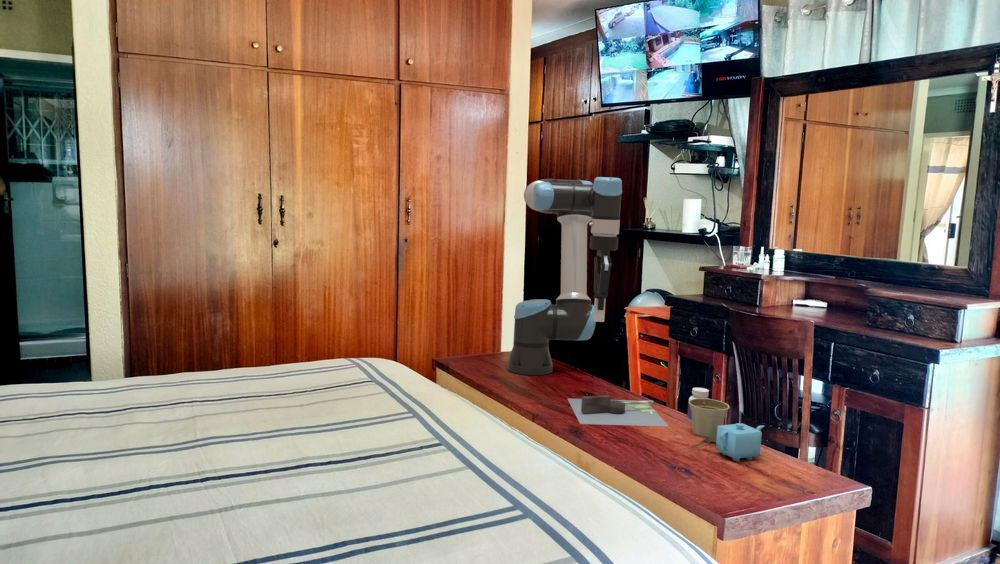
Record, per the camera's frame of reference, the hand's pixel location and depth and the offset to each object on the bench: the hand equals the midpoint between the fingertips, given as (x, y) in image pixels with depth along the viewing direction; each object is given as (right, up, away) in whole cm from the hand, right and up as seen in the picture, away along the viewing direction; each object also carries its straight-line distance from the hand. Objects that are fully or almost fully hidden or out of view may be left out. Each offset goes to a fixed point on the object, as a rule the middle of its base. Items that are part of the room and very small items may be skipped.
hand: (598, 321), depth 185 cm
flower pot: (+23, -27, -22) cm, 42 cm away
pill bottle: (+23, -26, -13) cm, 38 cm away
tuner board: (+3, -25, -8) cm, 26 cm away
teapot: (+27, -29, -33) cm, 51 cm away
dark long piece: (+3, -23, -9) cm, 25 cm away
